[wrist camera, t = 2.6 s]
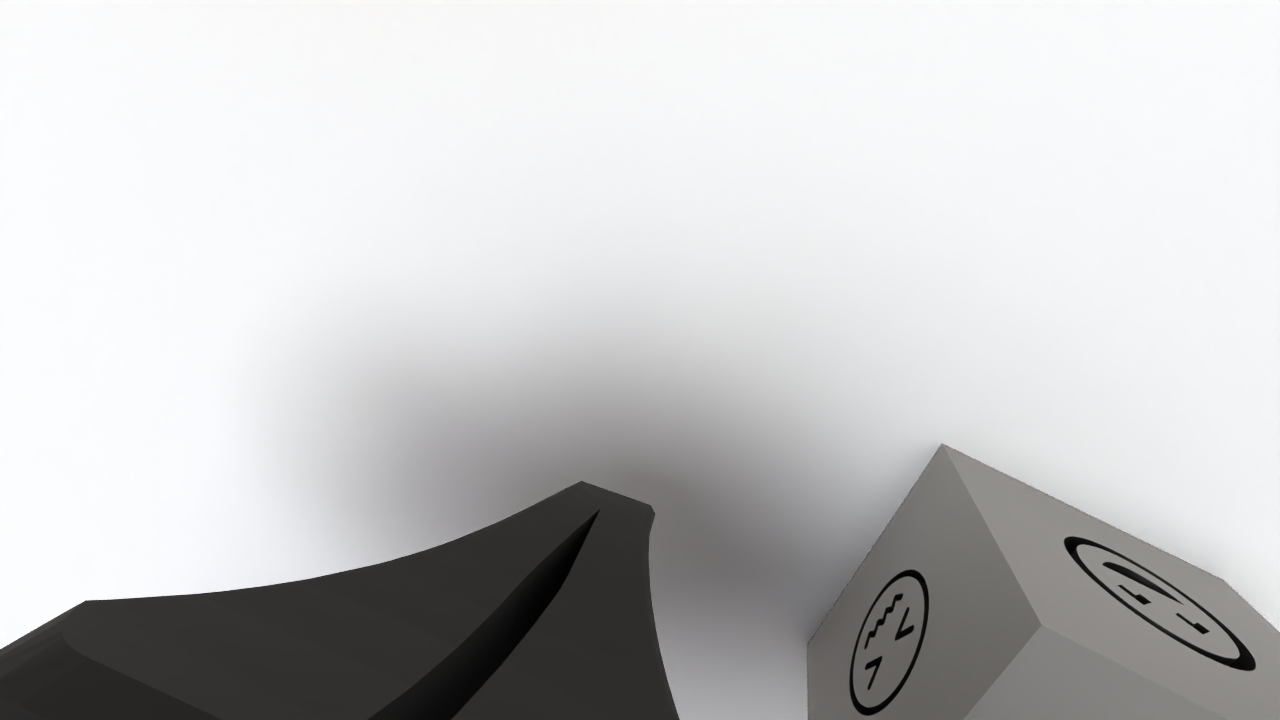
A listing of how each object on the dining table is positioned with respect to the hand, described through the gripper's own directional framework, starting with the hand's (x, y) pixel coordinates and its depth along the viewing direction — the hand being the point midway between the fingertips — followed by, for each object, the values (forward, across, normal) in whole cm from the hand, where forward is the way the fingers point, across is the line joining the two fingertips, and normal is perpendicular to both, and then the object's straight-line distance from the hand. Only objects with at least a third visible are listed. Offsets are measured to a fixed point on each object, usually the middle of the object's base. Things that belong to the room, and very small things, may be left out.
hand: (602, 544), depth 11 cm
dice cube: (+3, -7, 0) cm, 8 cm away
